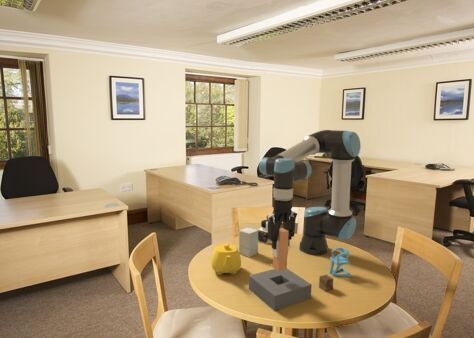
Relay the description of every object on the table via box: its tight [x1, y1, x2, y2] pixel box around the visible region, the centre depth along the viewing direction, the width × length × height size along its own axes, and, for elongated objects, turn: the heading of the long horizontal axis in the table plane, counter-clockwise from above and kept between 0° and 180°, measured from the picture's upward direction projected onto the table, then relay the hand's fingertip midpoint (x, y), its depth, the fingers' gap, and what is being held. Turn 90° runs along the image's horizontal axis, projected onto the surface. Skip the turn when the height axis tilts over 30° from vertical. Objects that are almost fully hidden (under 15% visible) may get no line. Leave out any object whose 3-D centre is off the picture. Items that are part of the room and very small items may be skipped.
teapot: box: [210, 243, 242, 276], centre depth 157 cm, size 14×20×13 cm
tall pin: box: [272, 227, 289, 271], centre depth 137 cm, size 4×4×16 cm
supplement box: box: [238, 226, 259, 258], centre depth 178 cm, size 7×7×13 cm
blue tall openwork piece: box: [328, 247, 352, 278], centre depth 158 cm, size 8×8×12 cm
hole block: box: [248, 268, 312, 311], centre depth 140 cm, size 18×18×6 cm
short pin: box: [318, 274, 334, 293], centre depth 145 cm, size 4×4×5 cm
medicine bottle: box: [257, 219, 272, 245], centre depth 196 cm, size 7×7×12 cm
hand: (280, 255), depth 137 cm, fingers closed on tall pin, 4 cm apart
